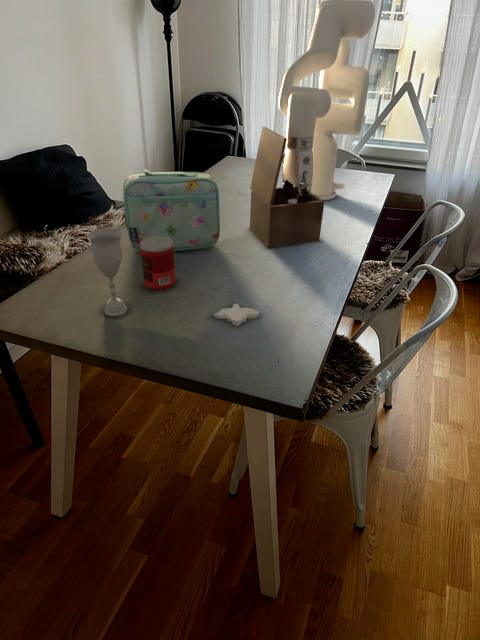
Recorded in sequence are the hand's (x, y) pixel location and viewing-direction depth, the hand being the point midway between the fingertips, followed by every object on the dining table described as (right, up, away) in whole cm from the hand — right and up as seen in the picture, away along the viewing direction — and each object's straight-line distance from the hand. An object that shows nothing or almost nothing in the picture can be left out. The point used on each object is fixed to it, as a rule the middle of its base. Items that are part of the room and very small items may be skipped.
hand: (294, 202), depth 138 cm
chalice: (-44, -33, -32) cm, 64 cm away
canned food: (-36, -26, -22) cm, 49 cm away
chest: (-3, -9, +5) cm, 10 cm away
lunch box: (-35, -14, -4) cm, 38 cm away
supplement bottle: (0, -8, +5) cm, 9 cm away
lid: (-8, +8, -9) cm, 14 cm away
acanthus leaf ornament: (-17, -34, -33) cm, 51 cm away
